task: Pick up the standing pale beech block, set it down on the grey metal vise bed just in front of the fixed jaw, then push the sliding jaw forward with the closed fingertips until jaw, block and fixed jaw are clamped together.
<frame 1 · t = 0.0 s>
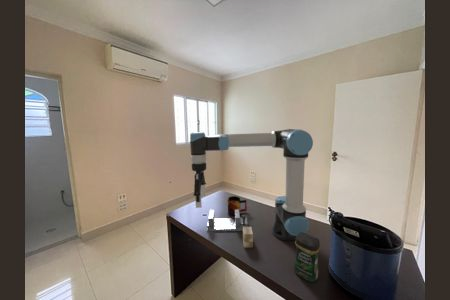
hand: (200, 201, 92), 28 cm above the table, fingers open, 13 cm apart
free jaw: (241, 217, 116), point 6 cm above the table, slide at 0.0 cm
vise bed: (227, 225, 118), on the table
coffee jar: (305, 274, 78), on the table
mug: (236, 212, 134), on the table
block: (247, 243, 100), on the table
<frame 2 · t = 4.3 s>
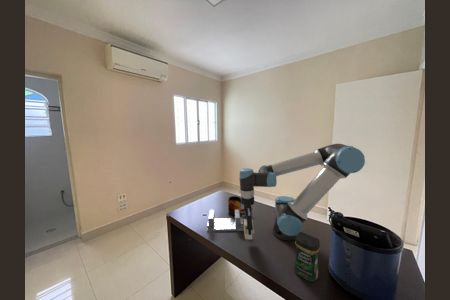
hand: (249, 234, 99), 5 cm above the table, fingers closed on block, 7 cm apart
block: (249, 235, 99), point 5 cm above the table, touching gripper
everything else where it was.
when the fingers open (3 cm above the table, at t = 8.3 s): block stays where it is, resting on vise bed.
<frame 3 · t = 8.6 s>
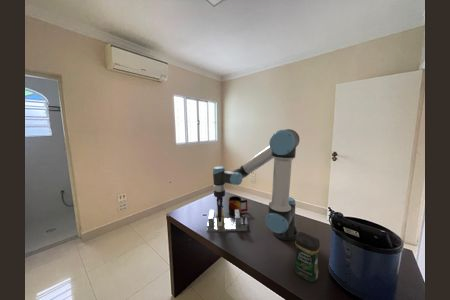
hand: (220, 221, 117), 3 cm above the table, fingers open, 10 cm apart
block: (220, 223, 117), point 1 cm above the table, touching vise bed
everything else where it was.
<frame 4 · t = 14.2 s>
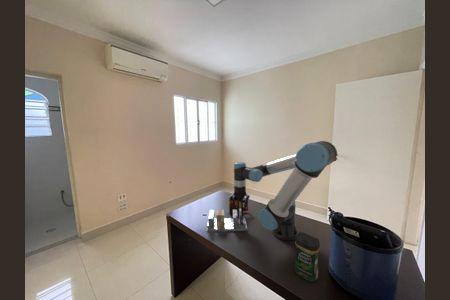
hand: (240, 218, 117), 5 cm above the table, fingers closed
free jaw: (238, 217, 116), point 6 cm above the table, slide at 1.5 cm, touching gripper
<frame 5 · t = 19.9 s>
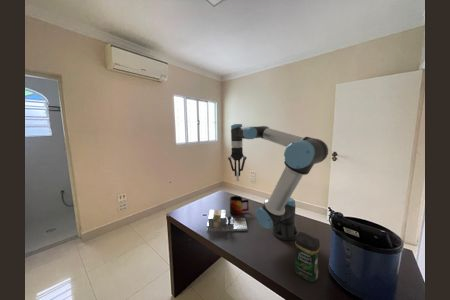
hand: (237, 180, 120), 29 cm above the table, fingers closed
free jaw: (227, 217, 116), point 6 cm above the table, slide at 9.5 cm
block: (217, 223, 117), point 1 cm above the table, touching vise bed
at the end: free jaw slide at 9.5 cm; block inside the target area (1.5 cm from its centre), point 1.5 cm above the table; block tilted 0° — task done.
